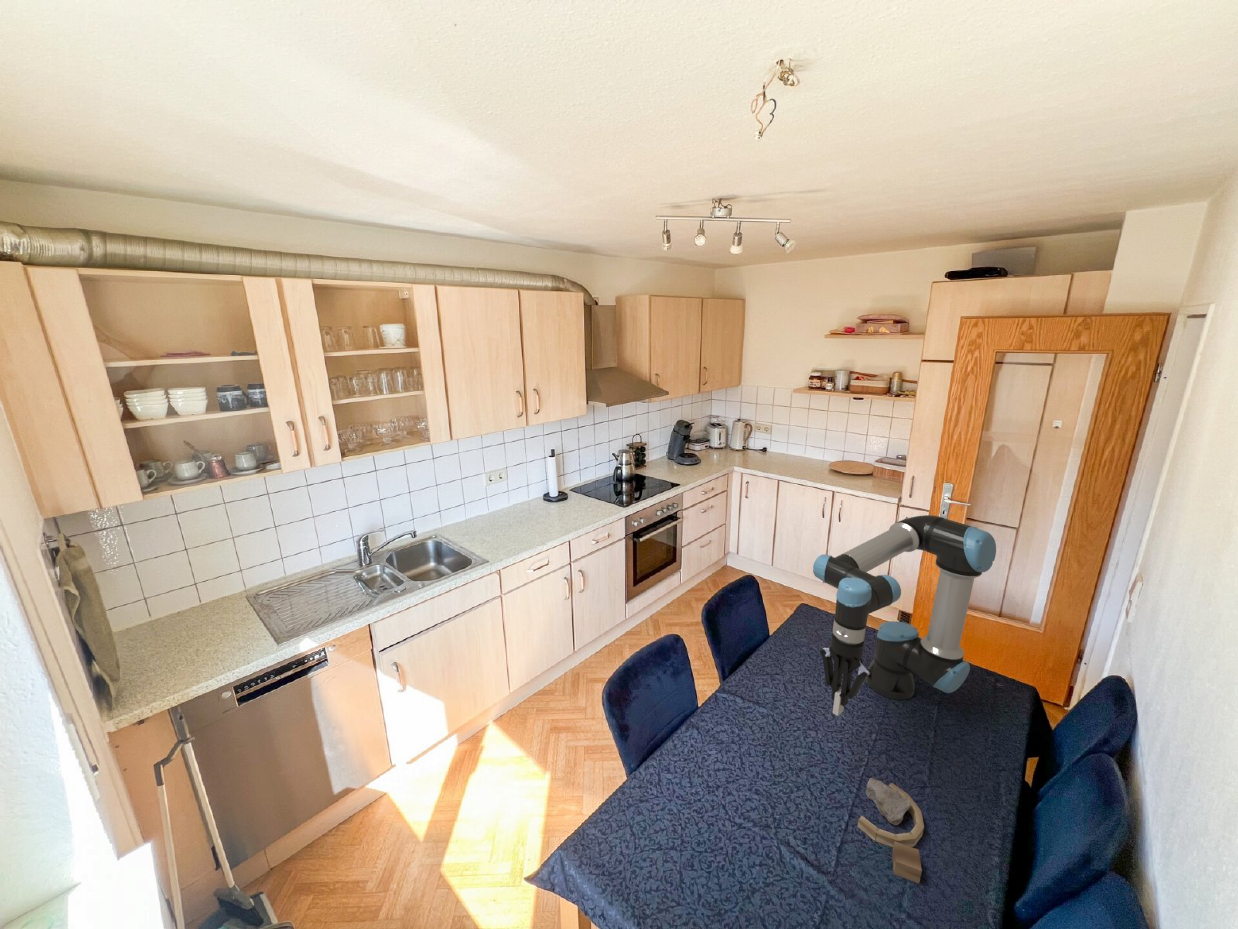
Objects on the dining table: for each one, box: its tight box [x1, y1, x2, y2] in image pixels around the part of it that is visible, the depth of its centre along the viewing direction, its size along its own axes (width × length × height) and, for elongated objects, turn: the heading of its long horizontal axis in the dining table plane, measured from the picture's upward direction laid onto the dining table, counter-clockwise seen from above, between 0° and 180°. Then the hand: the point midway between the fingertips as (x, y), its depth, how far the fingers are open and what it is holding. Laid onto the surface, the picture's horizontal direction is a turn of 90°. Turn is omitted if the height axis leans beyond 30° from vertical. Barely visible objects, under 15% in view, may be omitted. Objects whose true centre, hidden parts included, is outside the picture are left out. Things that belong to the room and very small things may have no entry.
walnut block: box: [891, 841, 923, 884], centre depth 112 cm, size 5×5×4 cm
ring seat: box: [856, 782, 925, 848], centre depth 122 cm, size 17×11×2 cm, turn 127°
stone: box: [865, 777, 911, 826], centre depth 126 cm, size 8×10×6 cm
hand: (837, 712), depth 132 cm, fingers closed
